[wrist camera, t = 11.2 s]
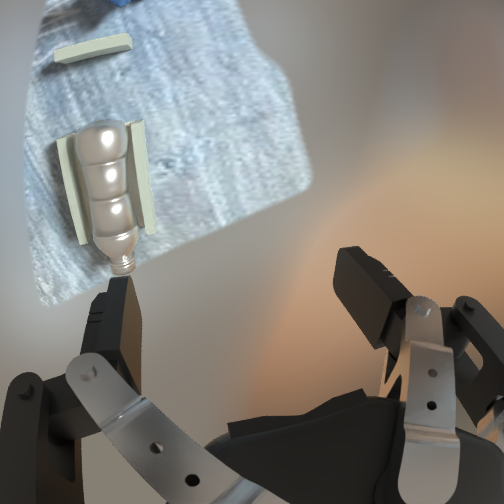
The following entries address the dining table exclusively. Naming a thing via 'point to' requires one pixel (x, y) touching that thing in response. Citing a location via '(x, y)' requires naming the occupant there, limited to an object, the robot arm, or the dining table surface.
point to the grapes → (120, 2)
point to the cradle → (136, 179)
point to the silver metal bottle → (109, 191)
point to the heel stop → (93, 48)
